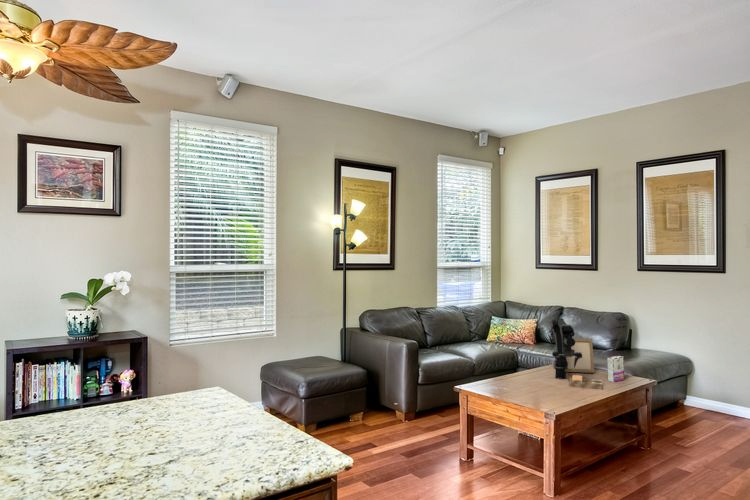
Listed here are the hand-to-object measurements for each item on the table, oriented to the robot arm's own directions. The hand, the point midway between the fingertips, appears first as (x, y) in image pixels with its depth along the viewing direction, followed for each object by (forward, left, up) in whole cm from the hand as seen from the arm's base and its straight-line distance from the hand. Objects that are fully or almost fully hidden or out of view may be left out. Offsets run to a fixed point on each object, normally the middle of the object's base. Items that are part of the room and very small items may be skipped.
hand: (567, 367), depth 341 cm
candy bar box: (+30, +22, -12) cm, 39 cm away
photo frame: (+4, +43, -12) cm, 45 cm away
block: (+6, -2, -10) cm, 12 cm away
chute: (+11, -2, -11) cm, 16 cm away
